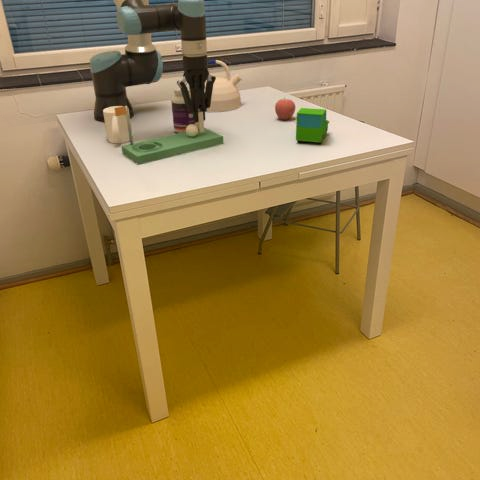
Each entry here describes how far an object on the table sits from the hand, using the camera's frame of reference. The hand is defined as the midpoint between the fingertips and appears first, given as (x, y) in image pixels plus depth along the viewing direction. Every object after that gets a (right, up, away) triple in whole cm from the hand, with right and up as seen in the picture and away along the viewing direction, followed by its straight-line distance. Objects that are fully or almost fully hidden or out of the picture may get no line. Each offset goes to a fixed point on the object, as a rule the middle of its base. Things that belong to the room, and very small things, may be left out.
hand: (200, 131), depth 155 cm
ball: (-2, -2, -1) cm, 3 cm away
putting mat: (-8, -6, -3) cm, 11 cm away
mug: (-27, -2, +5) cm, 28 cm away
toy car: (+37, -2, +2) cm, 37 cm away
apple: (+30, +9, +22) cm, 38 cm away
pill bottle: (-6, +3, +13) cm, 15 cm away
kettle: (+4, +20, +42) cm, 46 cm away
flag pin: (-22, -6, -7) cm, 24 cm away
